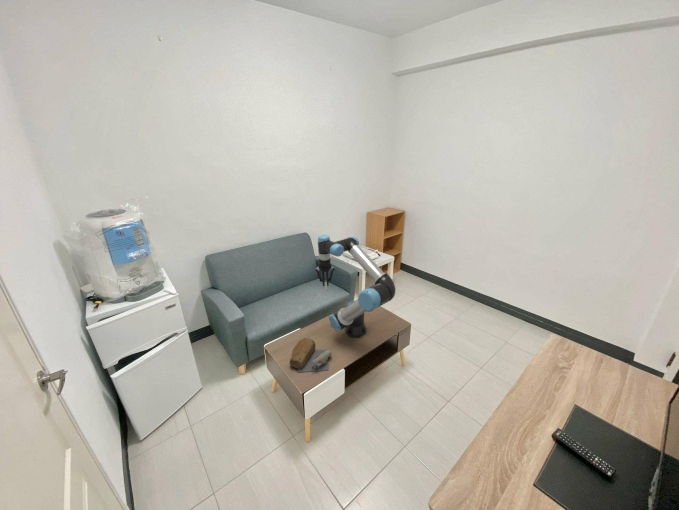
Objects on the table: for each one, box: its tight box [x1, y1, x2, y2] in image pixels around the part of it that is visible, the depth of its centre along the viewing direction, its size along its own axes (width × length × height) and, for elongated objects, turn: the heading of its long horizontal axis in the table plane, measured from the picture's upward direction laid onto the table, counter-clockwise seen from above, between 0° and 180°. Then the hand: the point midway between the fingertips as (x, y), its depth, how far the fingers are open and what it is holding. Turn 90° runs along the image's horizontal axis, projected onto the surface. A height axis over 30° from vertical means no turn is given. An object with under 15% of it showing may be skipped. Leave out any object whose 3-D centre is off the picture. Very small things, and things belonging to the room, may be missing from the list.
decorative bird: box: [312, 349, 332, 372], centre depth 166 cm, size 5×16×8 cm, turn 143°
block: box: [289, 337, 316, 369], centre depth 171 cm, size 11×8×20 cm
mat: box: [297, 349, 329, 374], centre depth 170 cm, size 18×17×1 cm
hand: (325, 289), depth 186 cm, fingers closed
